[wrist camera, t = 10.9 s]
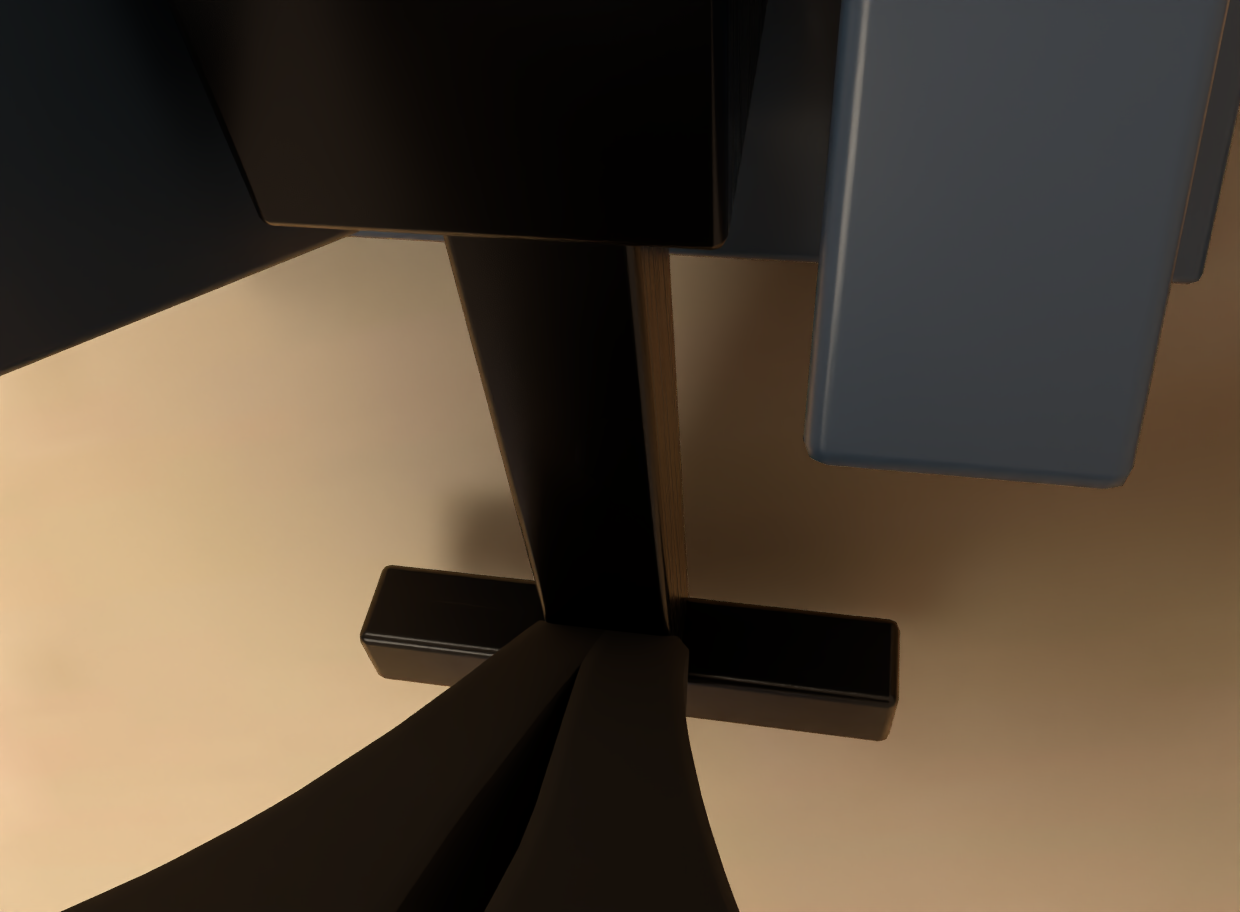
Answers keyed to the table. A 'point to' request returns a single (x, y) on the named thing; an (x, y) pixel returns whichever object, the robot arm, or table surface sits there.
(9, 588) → the table surface
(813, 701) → the toaster lever
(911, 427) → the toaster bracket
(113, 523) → the table surface
